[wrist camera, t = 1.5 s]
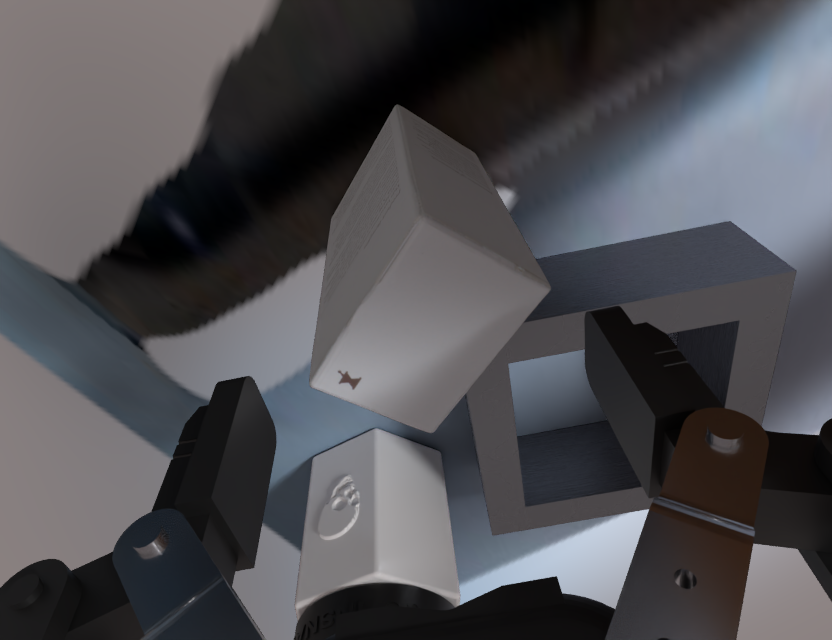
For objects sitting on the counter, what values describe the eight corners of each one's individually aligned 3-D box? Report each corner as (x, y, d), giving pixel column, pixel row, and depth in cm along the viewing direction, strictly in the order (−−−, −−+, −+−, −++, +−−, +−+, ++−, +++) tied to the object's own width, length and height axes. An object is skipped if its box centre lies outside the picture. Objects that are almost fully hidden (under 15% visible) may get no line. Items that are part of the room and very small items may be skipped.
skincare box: (409, 259, 27) (430, 442, 17) (329, 217, 25) (300, 390, 15) (482, 150, 24) (559, 290, 14) (397, 96, 22) (415, 210, 12)
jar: (406, 407, 32) (421, 614, 22) (469, 486, 36) (506, 690, 26) (280, 467, 34) (241, 681, 24) (354, 534, 38) (346, 741, 28)
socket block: (730, 221, 26) (796, 270, 22) (701, 426, 34) (746, 492, 30) (443, 277, 27) (456, 335, 23) (478, 466, 35) (492, 535, 31)
